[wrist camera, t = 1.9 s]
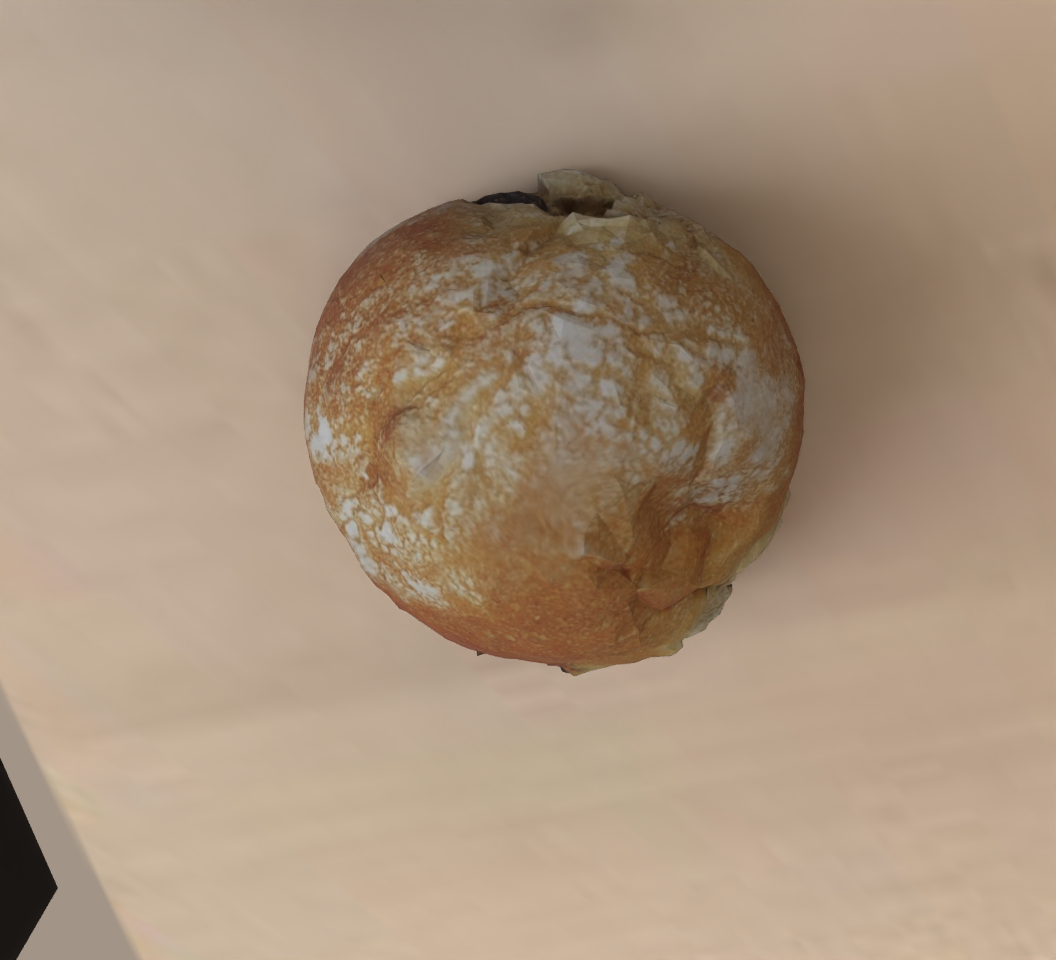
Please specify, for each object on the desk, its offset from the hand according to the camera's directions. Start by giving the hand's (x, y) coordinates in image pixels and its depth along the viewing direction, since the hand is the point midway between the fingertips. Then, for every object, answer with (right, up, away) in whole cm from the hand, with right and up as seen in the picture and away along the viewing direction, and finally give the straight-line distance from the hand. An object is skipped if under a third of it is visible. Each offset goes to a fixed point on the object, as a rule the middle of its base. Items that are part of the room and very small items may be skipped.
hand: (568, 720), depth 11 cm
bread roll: (0, +4, +11) cm, 12 cm away
